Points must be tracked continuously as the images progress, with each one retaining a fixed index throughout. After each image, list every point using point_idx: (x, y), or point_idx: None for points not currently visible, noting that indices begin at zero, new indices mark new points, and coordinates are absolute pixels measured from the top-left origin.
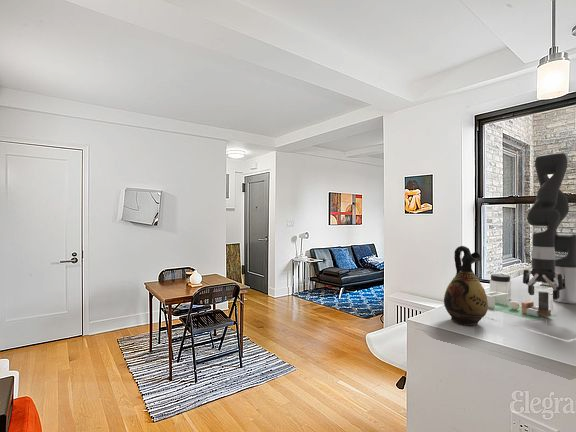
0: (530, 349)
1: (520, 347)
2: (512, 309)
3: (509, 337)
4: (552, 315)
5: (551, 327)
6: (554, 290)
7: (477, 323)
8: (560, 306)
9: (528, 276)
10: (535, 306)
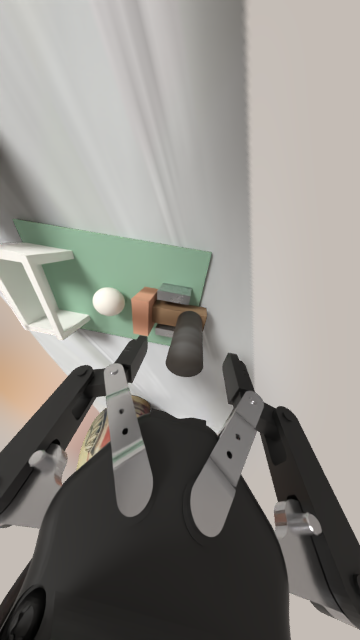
0: (220, 428)
1: (211, 428)
2: None
3: (193, 416)
4: (201, 269)
5: (220, 358)
6: (235, 403)
7: (148, 404)
8: None
9: (64, 426)
10: (158, 297)
